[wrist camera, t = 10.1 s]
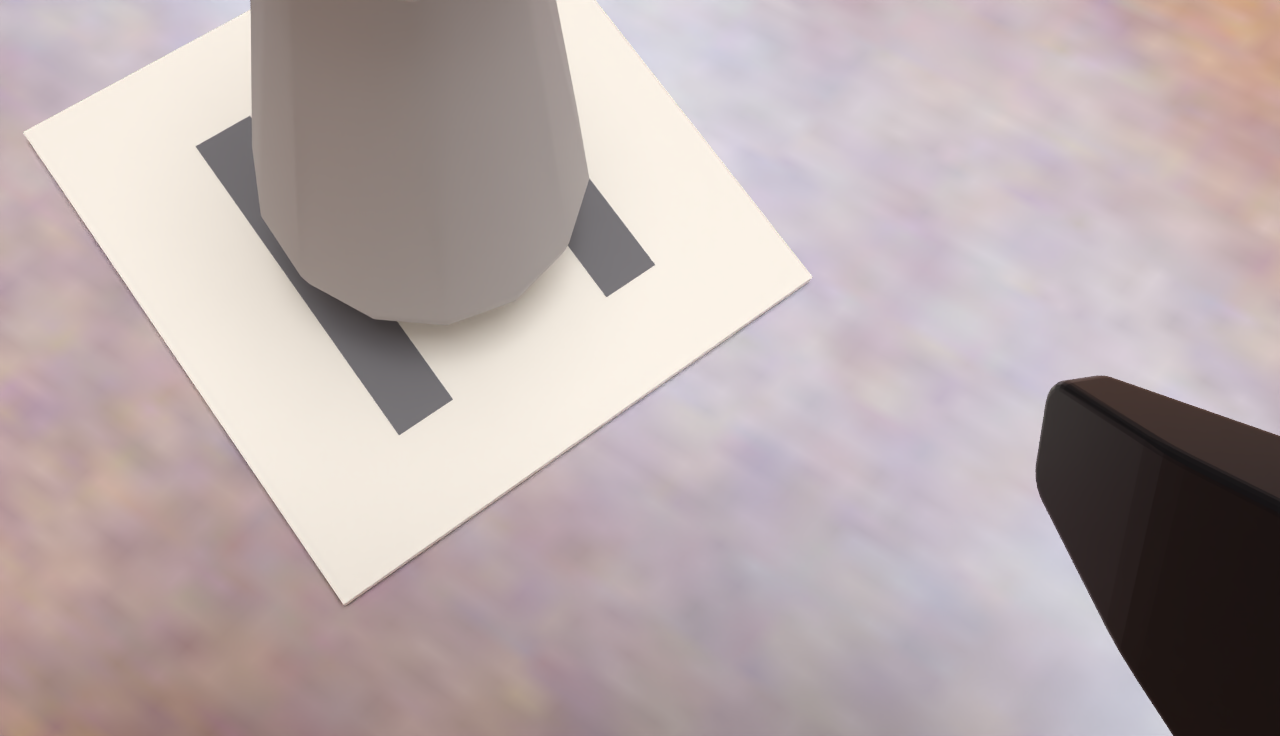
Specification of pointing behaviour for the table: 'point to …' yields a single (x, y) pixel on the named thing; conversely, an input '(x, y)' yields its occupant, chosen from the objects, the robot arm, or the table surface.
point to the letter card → (404, 351)
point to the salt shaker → (416, 149)
